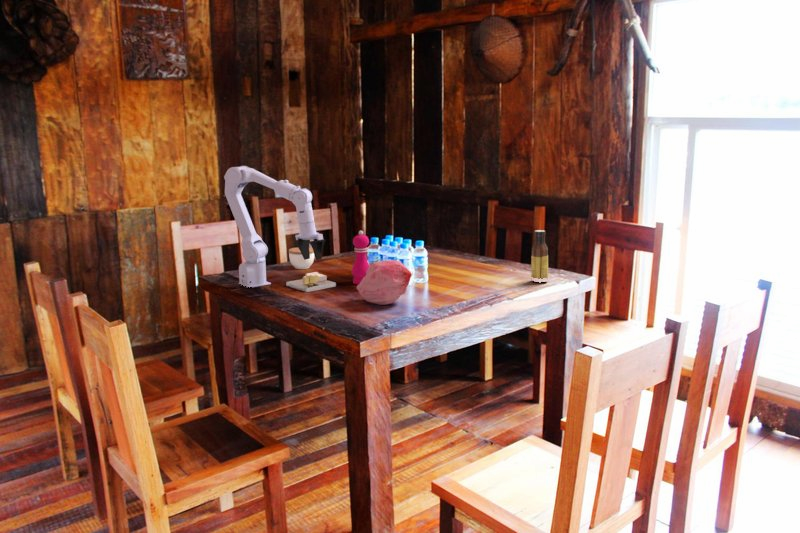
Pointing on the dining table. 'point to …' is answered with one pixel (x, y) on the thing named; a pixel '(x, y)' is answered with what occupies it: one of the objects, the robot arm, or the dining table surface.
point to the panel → (316, 286)
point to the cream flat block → (321, 278)
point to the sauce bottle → (539, 256)
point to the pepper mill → (360, 257)
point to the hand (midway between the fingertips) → (312, 259)
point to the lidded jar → (300, 258)
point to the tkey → (310, 280)
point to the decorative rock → (384, 282)
